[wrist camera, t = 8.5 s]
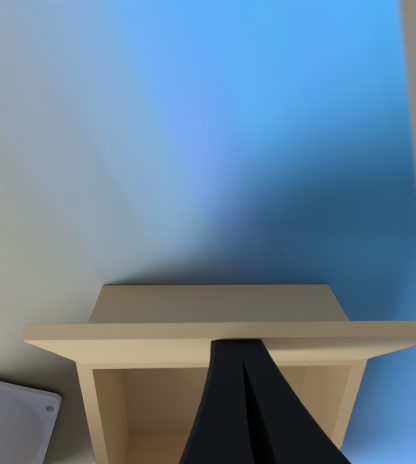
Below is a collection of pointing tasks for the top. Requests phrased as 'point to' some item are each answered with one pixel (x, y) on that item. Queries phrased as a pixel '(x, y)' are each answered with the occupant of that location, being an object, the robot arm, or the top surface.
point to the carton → (202, 367)
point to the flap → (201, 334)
